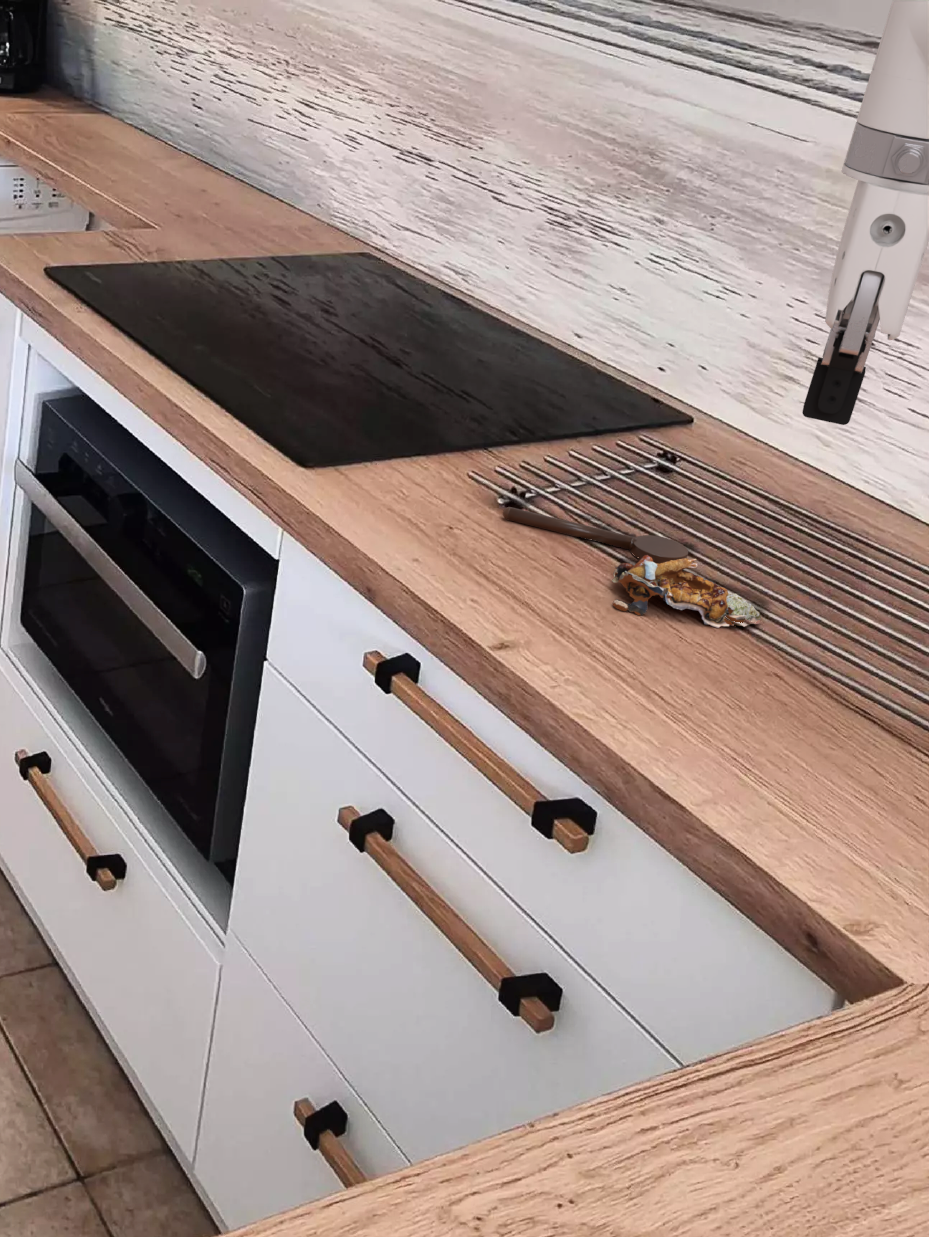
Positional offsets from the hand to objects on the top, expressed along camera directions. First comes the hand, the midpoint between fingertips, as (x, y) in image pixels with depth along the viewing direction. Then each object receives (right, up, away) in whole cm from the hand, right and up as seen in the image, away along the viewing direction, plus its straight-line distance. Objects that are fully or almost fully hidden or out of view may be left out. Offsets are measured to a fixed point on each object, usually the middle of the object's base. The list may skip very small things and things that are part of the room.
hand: (825, 417), depth 122 cm
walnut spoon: (-6, -7, +31) cm, 32 cm away
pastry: (-3, -13, +20) cm, 24 cm away
